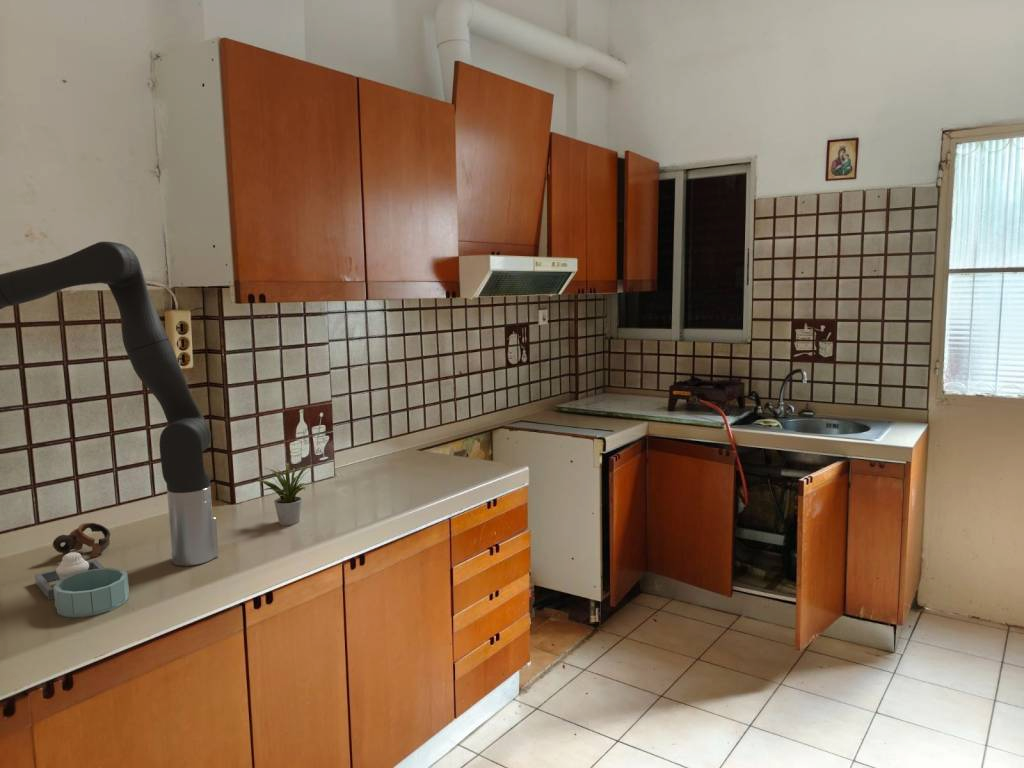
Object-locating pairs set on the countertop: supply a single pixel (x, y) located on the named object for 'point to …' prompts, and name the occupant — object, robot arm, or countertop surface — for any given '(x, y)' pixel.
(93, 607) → the bowl
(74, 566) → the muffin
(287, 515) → the house plant
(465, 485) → the countertop surface
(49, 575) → the square frame
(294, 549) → the countertop surface
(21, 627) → the countertop surface
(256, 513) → the countertop surface
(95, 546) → the brown looped piece
